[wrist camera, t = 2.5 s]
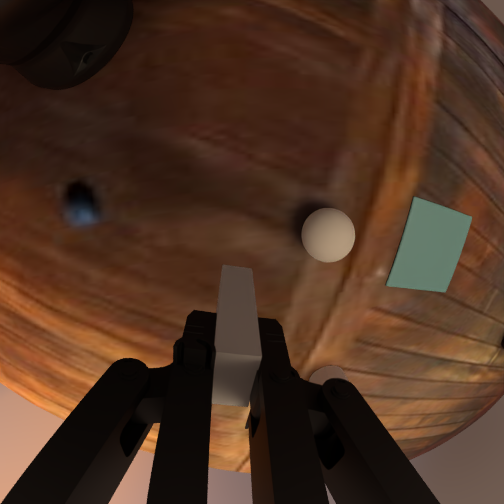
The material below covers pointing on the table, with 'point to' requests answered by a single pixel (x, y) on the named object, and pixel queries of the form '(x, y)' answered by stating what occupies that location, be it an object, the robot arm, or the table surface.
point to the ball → (328, 235)
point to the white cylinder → (327, 374)
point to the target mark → (429, 247)
